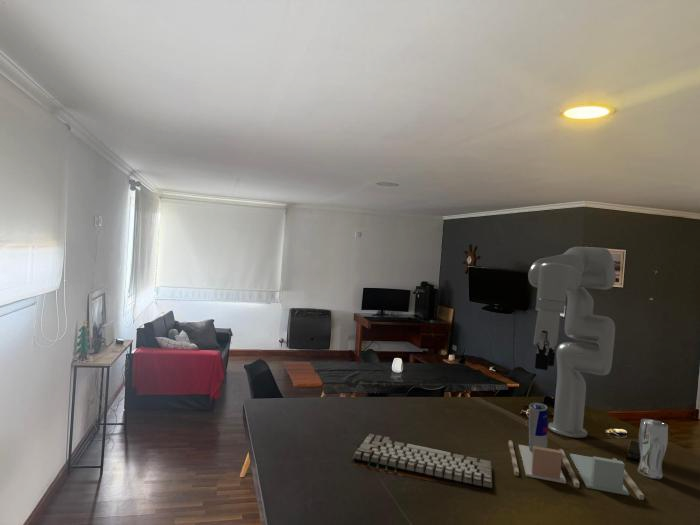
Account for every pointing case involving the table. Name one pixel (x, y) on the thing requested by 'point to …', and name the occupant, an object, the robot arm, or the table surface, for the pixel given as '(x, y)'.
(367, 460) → the mechanical keyboard
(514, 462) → the lane frame
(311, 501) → the table surface
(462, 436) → the table surface
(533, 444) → the beverage can
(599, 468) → the strip
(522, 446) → the strip
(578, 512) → the table surface
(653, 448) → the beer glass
